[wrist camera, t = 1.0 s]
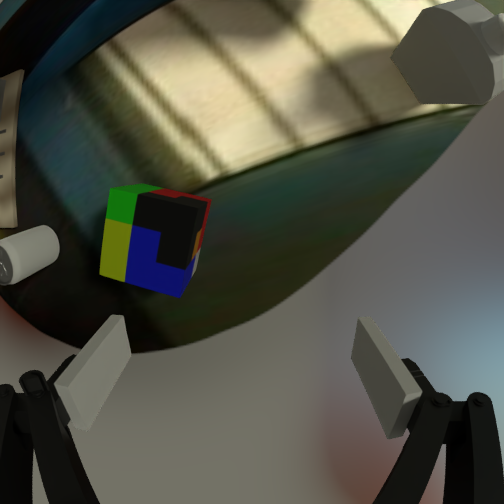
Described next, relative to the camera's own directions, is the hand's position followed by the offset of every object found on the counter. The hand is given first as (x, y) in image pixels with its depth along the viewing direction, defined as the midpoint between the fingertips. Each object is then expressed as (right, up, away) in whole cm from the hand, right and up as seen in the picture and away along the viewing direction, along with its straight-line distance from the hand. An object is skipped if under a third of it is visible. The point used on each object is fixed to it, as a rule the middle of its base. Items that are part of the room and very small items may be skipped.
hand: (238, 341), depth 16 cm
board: (-46, +23, +21) cm, 56 cm away
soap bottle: (+25, +31, +18) cm, 44 cm away
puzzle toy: (-11, +8, +25) cm, 28 cm away
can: (-33, +6, +25) cm, 42 cm away
